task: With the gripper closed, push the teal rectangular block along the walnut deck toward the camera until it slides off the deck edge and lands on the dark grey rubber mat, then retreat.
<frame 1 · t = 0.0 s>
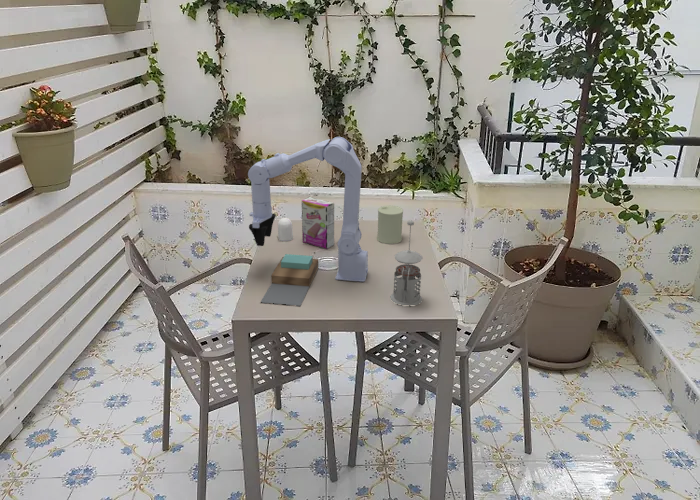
hand: (263, 240, 183), 10 cm above the table, fingers open, 7 cm apart
candy bar box: (318, 244, 206), on the table
can: (389, 239, 211), on the table
mat: (285, 294, 171), on the table
teal rectangular block: (297, 264, 183), point 3 cm above the table, touching deck
deck: (295, 275, 183), on the table
white domed cylinder: (285, 238, 211), on the table
french press: (405, 300, 169), on the table
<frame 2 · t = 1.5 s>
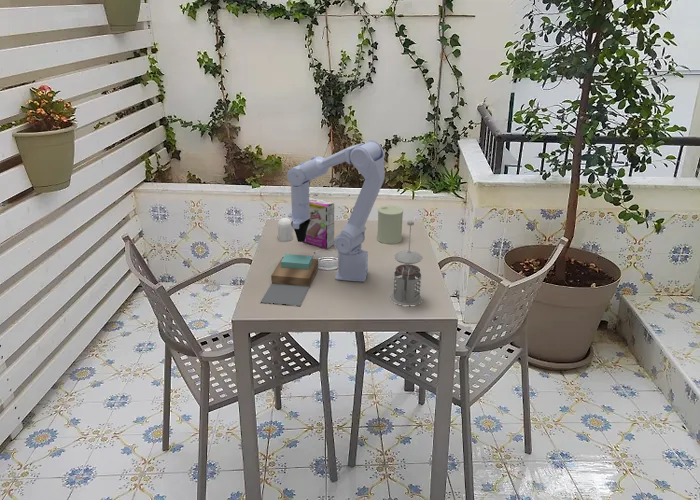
hand: (301, 241, 188), 8 cm above the table, fingers closed
nothing on the table moved.
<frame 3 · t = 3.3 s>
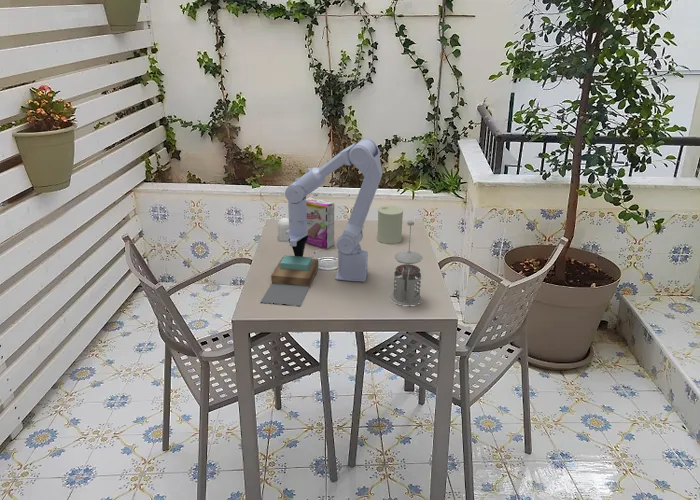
hand: (299, 257, 186), 4 cm above the table, fingers closed
teal rectangular block: (296, 265, 183), point 3 cm above the table, touching gripper
everything else where it was.
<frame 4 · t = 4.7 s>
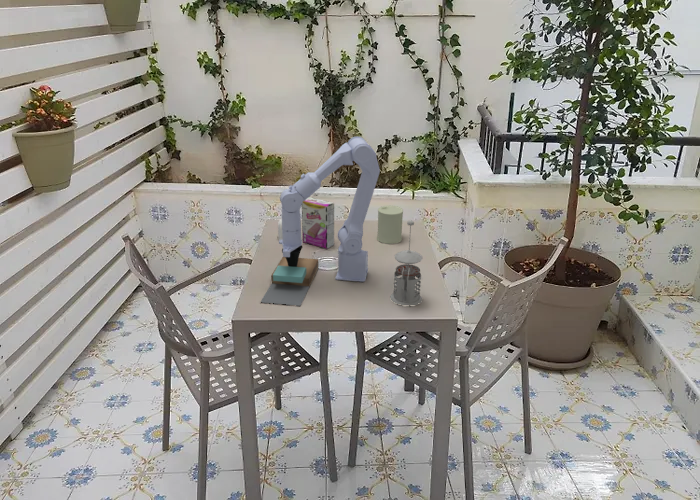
hand: (292, 268, 178), 4 cm above the table, fingers closed
teal rectangular block: (290, 276, 175), point 3 cm above the table, touching gripper
everything else where it was.
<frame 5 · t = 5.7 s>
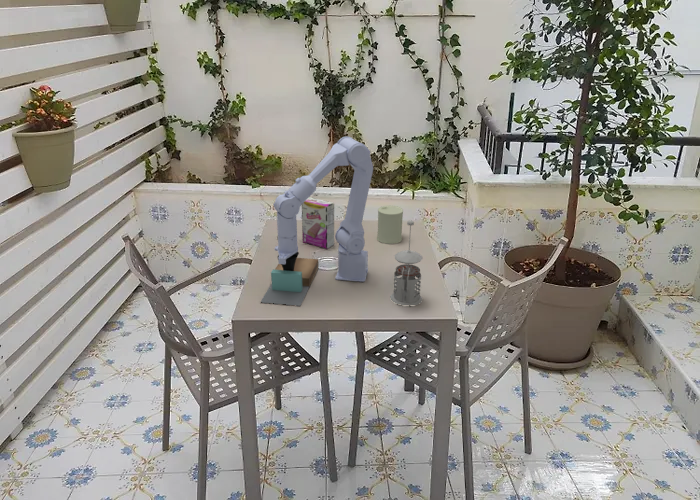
hand: (289, 275, 174), 4 cm above the table, fingers closed
teal rectangular block: (287, 279, 173), point 3 cm above the table, tilted 93°, touching gripper, mat
everything else where it was.
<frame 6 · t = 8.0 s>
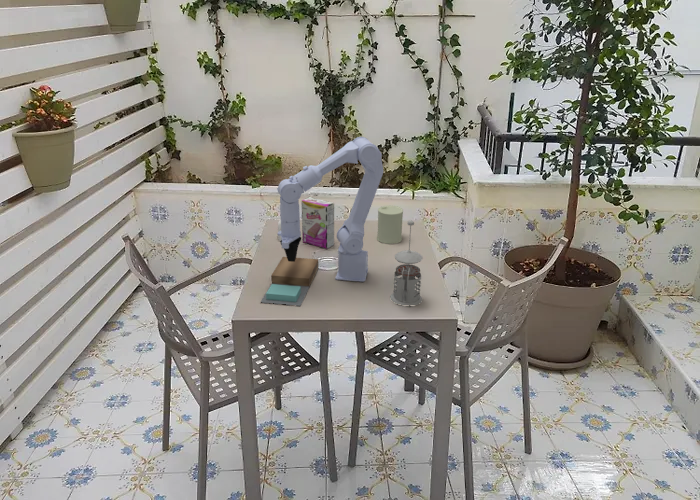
hand: (291, 260, 176), 7 cm above the table, fingers closed
teal rectangular block: (283, 289, 169), point 2 cm above the table, tilted 180°, touching mat
everything else where it was.
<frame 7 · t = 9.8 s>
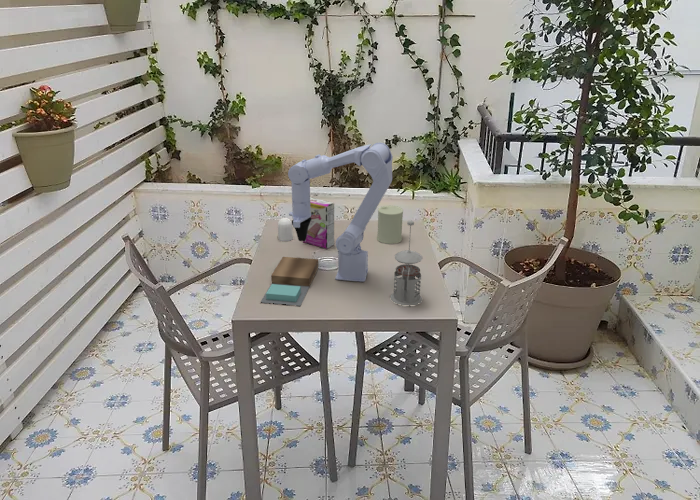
hand: (302, 240, 184), 10 cm above the table, fingers closed
nothing on the table moved.
at the end: teal rectangular block point 2.3 cm above the table; teal rectangular block inside the target area on the mat (1.2 cm from its centre), point 2.3 cm above the mat's base; teal rectangular block touching mat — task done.
